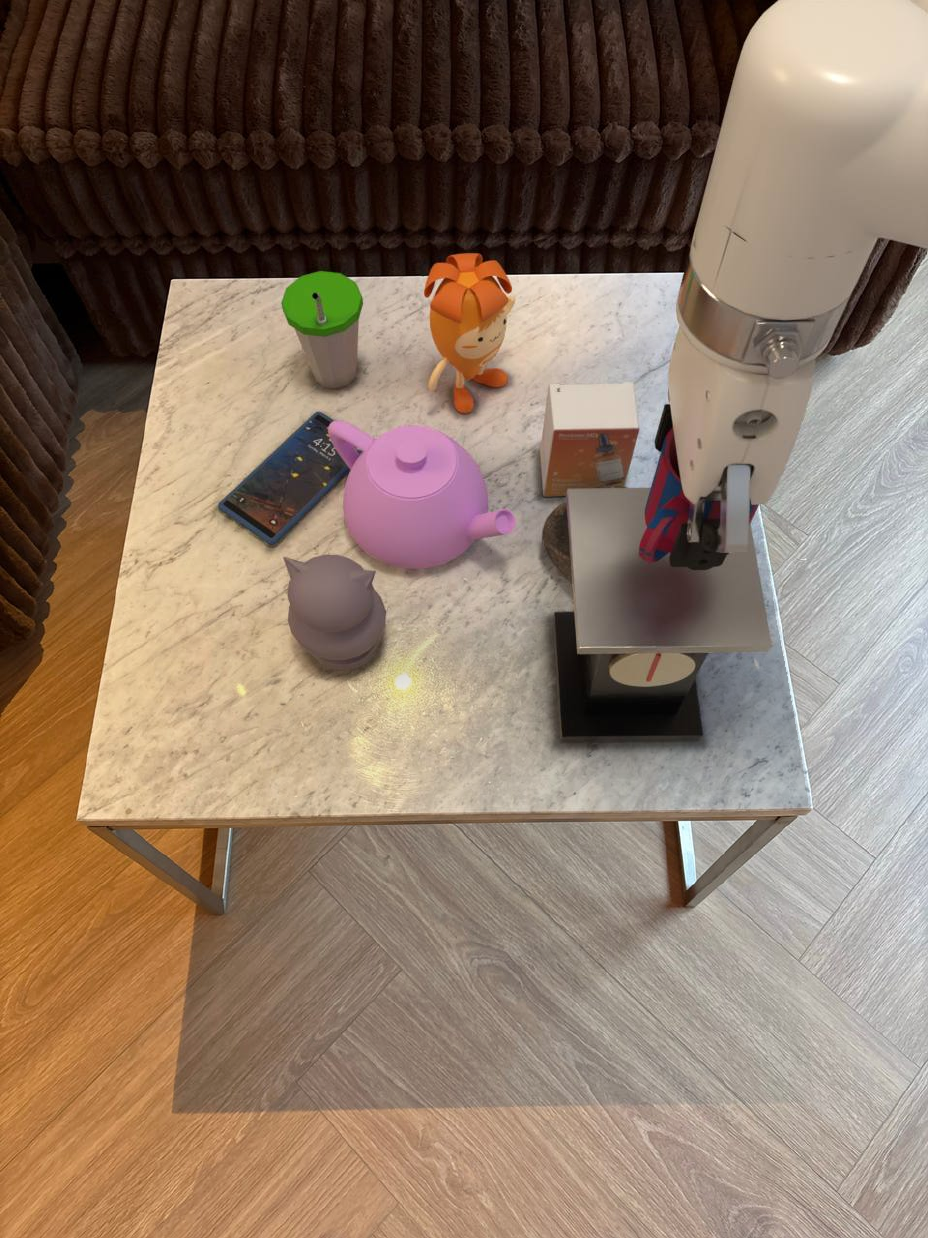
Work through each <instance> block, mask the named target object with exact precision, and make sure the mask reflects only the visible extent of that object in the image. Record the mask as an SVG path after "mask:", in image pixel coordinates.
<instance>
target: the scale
mask: <svg viewBox="0 0 928 1238" xmlns="http://www.w3.org/2000/svg"><path fill="white" fill-rule="evenodd" d="M650 489H651V487H627V488H585V489H567V494H566V496H565V500H566V502H567V516H568V530H569V544H570V558H571V572H572V584H571V585H572V597H573V598H572V599H573V611H554V612H553V616H552V617H553V618H552V624H553V625H552V626H553V640H554V641H553V642H554V658H555V674H556V675H555V676H556V677H555V678H556V691H557V692H556V693H557V695H556V696H557V706H558V707H557V711H558V726H559V727H558V728H559V742H560V743H561V744H566V743H567V744H570V743H573V744H574V743H578V744H579V743H580V744H581V743H663V742H665V743H666V742H667V743H668V742H669V743H670V742H677V743H679V742H700V741H701V739H702V738H703V737H704V731H703V725H702V717H701V716H702V715H701V709H700V702H699V701H700V700H699V695H698V694H699V693H698V687H697V676H698V674H699V672H700V671H701V669H702V666H703V665H704V663H705V661H706V659H707V657H708V655H709V654H711V653H712V654H717V653H720V654H721V653H726V654H727V653H728V654H729V653H769V652H770V650H771V649H772V647H773V644H772V638H771V631H770V626H769V621H768V615H767V610H766V609H767V608H766V603H765V598H764V597H765V596H764V591H763V586H762V581H761V580H762V579H761V575H760V569H759V563H758V559H757V554H756V547H755V541H754V535H753V530H752V524H751V523H752V522H751V523H750V525H749V547H748V551H747V552H746V553H729V554H728V555H727V556H726V558H725V560H724V562H723V564H722V565H720V566H717V567H713V568H711V569H708V570H691V569H689V568H688V567H672V566H670V560H669V556H670V554H671V553H668V554H667V555H666V556H664V557H663V558H662V559H660V560H659V561H657V562H655V563H648V562H646V561H644V560H643V559H642V558H641V557H640V556H639V545H640V541H641V539H642V536H643V534H644V532H645V530H646V528H647V526H646V522H645V507H646V503H647V499H648V496H649V492H650Z"/></svg>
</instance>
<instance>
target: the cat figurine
mask: <svg viewBox="0 0 928 1238" xmlns="http://www.w3.org/2000/svg"><path fill="white" fill-rule="evenodd" d="M282 558H283V561H284V565H285V567H286V571H287V573H288V575H289V578H290V579H289V581H288V586H287V600H288V603H289V606H288V615H287V622H288V625H289V629H290V632H291V635H292V637H293V638H294V639H295V641H296V642H297V644H299V646H300V647H301V649H304V650H305V651H306V652H308V653H310V654H312V655H313V657H314V658H315V660H316V661H317V662H318V663H319V664H320V665H322V666H323V667H325V668H327V669H329V670H333V671H336V672H349V671H353V670H356V669H359V668H361V667H363V666H364V665H366V664H368V663H369V662H370V660H372V658H374V656H375V655H376V653H377V651H378V648H379V645H380V640H381V637H382V635H383V633H384V631H385V628H386V623H387V622H386V619H387V610H386V607H385V604H384V601H383V599H382V597H381V595H380V594H379V593H378V591H377V590H376V589H375V587H374V585H373V581H374V579H375V576H376V573H377V570H369V569H365V568H364V567H363V566H362V565H361V564H360V563H358V562H357V561H355V560H353V559H351V558H349V557H346V556H344V555H343V556H342V555H339V554H323V555H322V554H321V555H318V556H314V557H311V558H309V559H308V560H306V561H300V560H296V559H293V558H289V557H286V556H282Z"/></svg>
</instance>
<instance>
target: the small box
mask: <svg viewBox="0 0 928 1238" xmlns="http://www.w3.org/2000/svg"><path fill="white" fill-rule="evenodd" d="M635 388H636V387H635V383H634V381H624V382H605V383H603V382H600V383H599V382H598V383H597V382H596V383H592V382H591V383H558V382H557V383H554V382H553V383H552V382H551V383H549V384H548V387H547V395H546V402H545V410H544V419H543V428H542V435H541V443H540V448H539V456H540V469H541V470H540V472H541V481H542V482H541V483H542V496H543V497H546V498H548V497H550V498H551V497H566V494H567V489H585V488H593V487H598V486H606V485H616V486H623V487H626V483H627V479H628V475H629V471H630V467H631V464H632V460H633V457H634V452H635V448H636V444H637V441H638V437H639V433H640V431H641V430H640V420H639V412H638V405H637V395H636V389H635Z"/></svg>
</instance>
